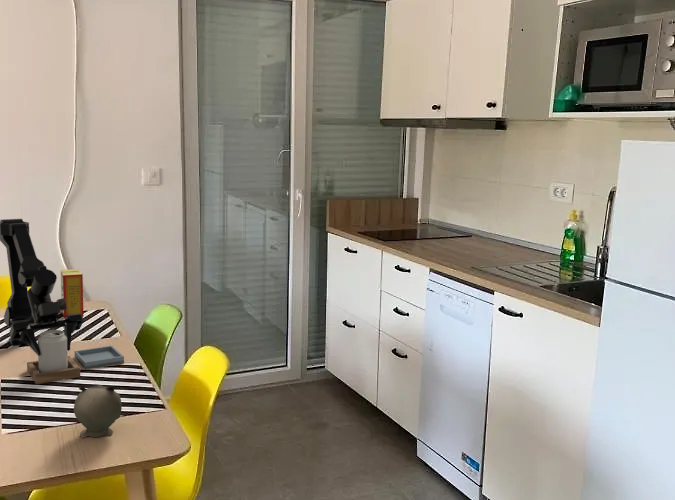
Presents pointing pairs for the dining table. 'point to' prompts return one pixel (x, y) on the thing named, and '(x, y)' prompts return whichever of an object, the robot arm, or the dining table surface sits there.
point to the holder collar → (53, 372)
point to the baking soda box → (72, 291)
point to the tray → (99, 357)
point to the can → (52, 351)
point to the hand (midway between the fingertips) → (54, 352)
